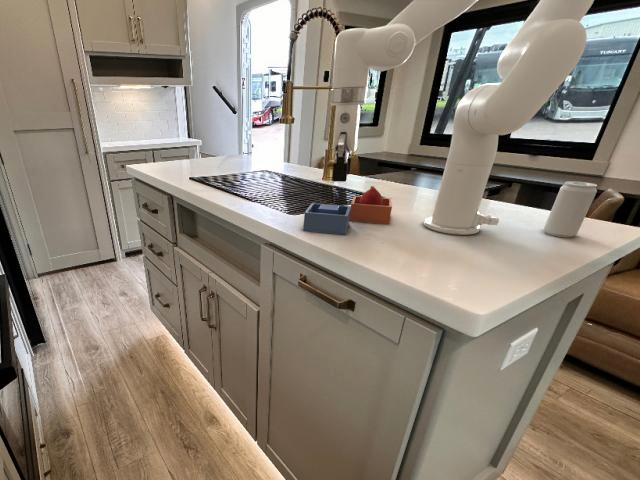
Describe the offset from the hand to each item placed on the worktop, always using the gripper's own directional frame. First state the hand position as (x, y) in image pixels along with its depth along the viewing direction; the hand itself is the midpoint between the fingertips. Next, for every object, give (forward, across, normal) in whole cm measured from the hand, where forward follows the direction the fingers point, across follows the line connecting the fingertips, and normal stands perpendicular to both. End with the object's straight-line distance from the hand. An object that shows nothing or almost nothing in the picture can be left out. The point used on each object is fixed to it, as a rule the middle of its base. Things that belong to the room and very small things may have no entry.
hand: (341, 177), depth 88 cm
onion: (+12, +10, -8) cm, 17 cm away
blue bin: (+12, -2, +2) cm, 12 cm away
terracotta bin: (+12, +10, -8) cm, 18 cm away
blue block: (+11, -2, +2) cm, 12 cm away
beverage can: (+14, +10, -52) cm, 55 cm away
